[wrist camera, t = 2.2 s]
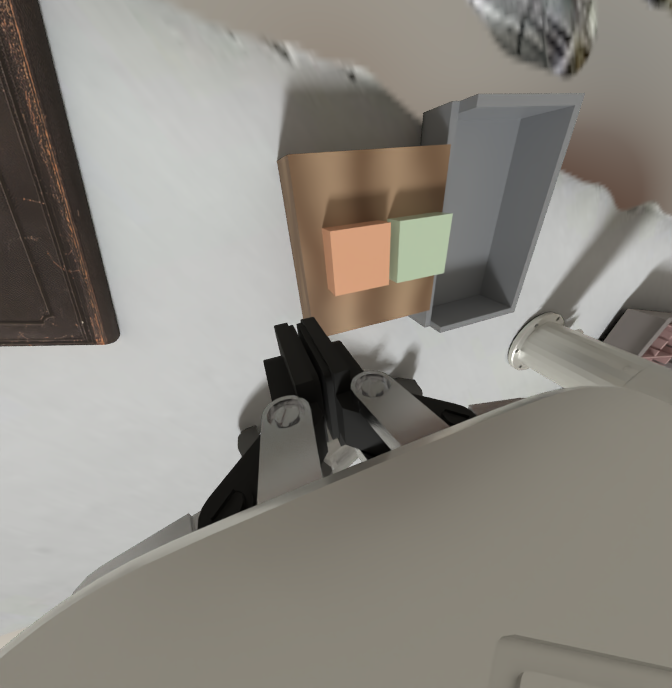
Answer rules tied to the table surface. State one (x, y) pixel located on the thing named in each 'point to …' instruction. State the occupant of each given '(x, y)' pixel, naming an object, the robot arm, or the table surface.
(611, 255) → the table surface
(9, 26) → the hardcover book
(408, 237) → the tile
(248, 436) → the gun
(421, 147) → the platform
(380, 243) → the tile
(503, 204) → the box
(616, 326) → the organizer tray
